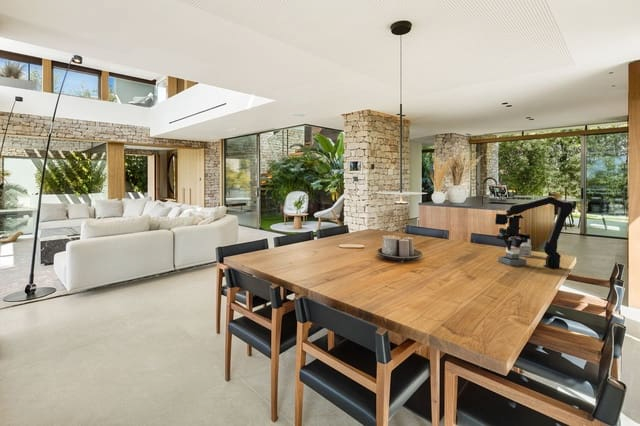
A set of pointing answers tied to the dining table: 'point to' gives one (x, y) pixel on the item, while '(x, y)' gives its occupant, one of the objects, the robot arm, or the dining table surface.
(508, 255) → the metal box
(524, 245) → the container
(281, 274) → the dining table surface
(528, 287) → the dining table surface
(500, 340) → the dining table surface
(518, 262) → the tote
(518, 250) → the pinkish brown block
